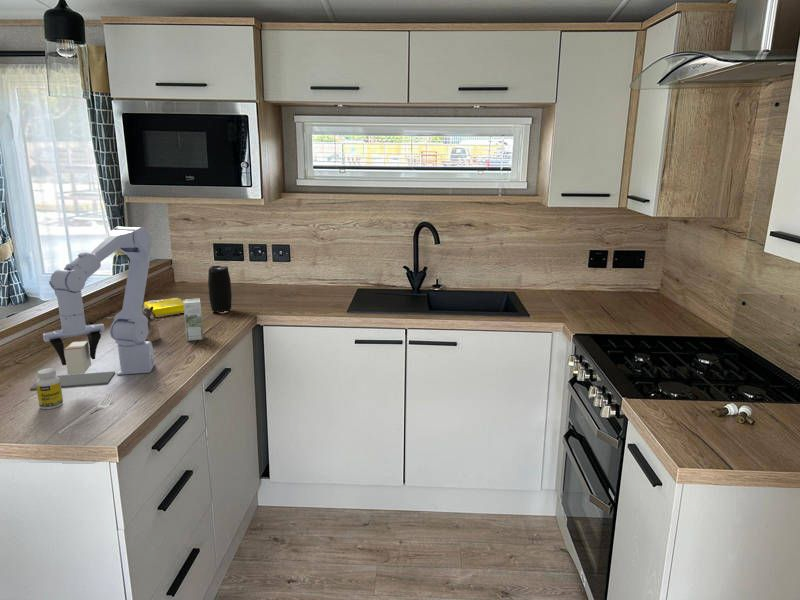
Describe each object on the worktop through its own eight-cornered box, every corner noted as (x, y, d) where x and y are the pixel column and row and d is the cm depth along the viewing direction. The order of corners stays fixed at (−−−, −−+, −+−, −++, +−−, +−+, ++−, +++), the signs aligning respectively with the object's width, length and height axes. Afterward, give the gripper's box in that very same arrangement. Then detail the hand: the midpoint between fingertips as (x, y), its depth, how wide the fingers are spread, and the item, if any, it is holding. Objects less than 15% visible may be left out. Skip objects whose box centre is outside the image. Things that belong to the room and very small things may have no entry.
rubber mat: (115, 372, 173) (115, 371, 173) (107, 383, 164) (107, 382, 164) (42, 378, 168) (41, 376, 168) (30, 390, 160) (30, 388, 160)
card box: (91, 364, 160) (88, 340, 158) (84, 373, 153) (80, 348, 152) (75, 365, 159) (72, 341, 157) (67, 374, 153) (64, 349, 151)
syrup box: (203, 335, 210) (199, 297, 206) (203, 340, 204) (200, 301, 201) (186, 337, 208) (183, 298, 204) (186, 342, 202) (183, 302, 199)
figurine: (136, 338, 206) (132, 307, 203) (156, 335, 210) (153, 303, 207) (142, 343, 200) (138, 311, 198) (162, 339, 205) (159, 307, 202)
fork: (52, 436, 135) (51, 429, 134) (106, 400, 154) (105, 393, 153) (65, 437, 134) (63, 430, 134) (117, 401, 153) (116, 394, 153)
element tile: (152, 319, 233) (150, 308, 232) (143, 311, 244) (142, 300, 243) (189, 313, 241) (188, 302, 240) (179, 306, 253) (178, 296, 252)
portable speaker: (236, 310, 245) (233, 265, 241) (222, 315, 237) (219, 269, 232) (220, 308, 248) (217, 264, 244) (206, 313, 240) (202, 268, 235)
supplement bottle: (40, 411, 146) (34, 376, 144) (38, 404, 150) (33, 369, 148) (64, 406, 149) (59, 371, 147) (62, 399, 153) (57, 365, 151)
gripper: (97, 306, 160) (103, 351, 163) (37, 315, 151) (45, 363, 154) (104, 311, 155) (110, 358, 158) (43, 320, 146) (50, 370, 149)
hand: (78, 361), depth 156 cm, fingers closed on card box, 6 cm apart
